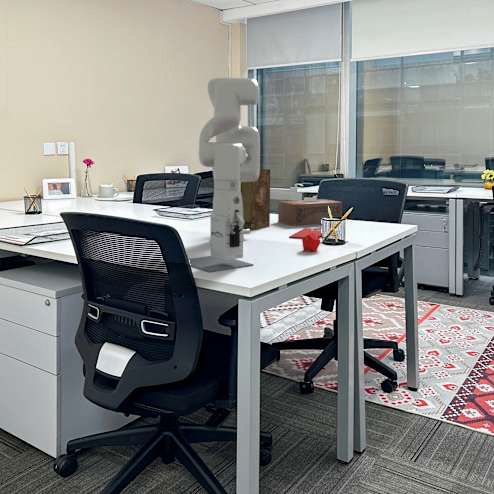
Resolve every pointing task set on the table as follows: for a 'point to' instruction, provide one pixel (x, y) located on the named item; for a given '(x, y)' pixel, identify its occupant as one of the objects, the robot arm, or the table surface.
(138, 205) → the table surface
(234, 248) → the supplement box
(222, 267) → the desk mat
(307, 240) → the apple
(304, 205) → the tissue box cover
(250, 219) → the book
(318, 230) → the red board with handle
